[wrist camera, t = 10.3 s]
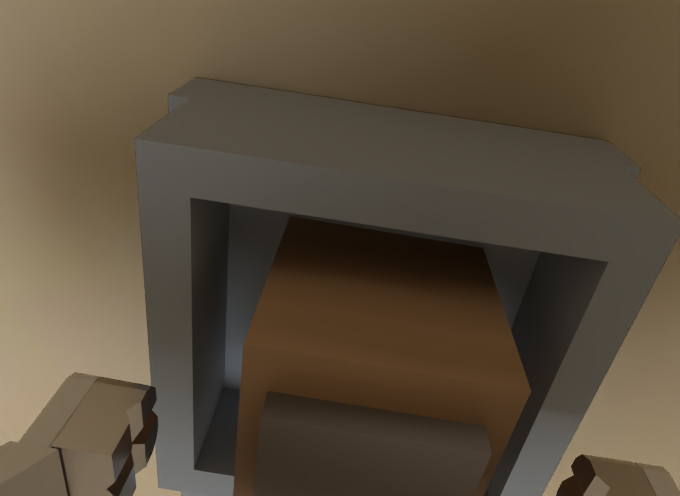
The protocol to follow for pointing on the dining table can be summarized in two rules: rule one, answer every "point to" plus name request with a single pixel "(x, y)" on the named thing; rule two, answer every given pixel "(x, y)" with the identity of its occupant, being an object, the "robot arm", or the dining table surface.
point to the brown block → (375, 369)
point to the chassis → (389, 216)
